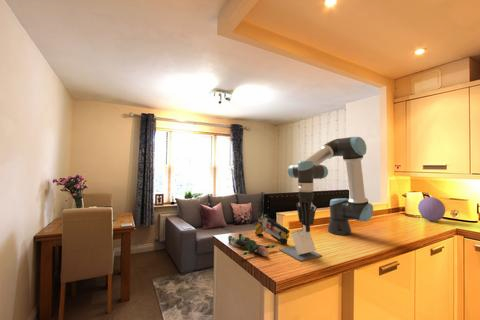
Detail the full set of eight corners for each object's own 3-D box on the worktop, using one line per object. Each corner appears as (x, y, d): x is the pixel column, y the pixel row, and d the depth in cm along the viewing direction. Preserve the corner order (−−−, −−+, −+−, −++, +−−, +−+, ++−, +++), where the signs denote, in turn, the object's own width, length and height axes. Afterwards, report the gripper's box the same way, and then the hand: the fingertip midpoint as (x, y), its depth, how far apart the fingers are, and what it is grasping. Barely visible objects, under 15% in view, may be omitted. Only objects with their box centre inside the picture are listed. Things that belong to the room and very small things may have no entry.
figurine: (215, 246, 131) (245, 267, 106) (216, 235, 131) (246, 254, 106) (251, 238, 145) (285, 255, 120) (251, 228, 145) (285, 243, 120)
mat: (299, 246, 130) (299, 245, 130) (322, 256, 115) (322, 255, 115) (279, 250, 124) (279, 248, 124) (300, 261, 108) (300, 260, 108)
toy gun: (257, 231, 155) (261, 210, 152) (286, 252, 134) (291, 229, 132) (253, 232, 152) (256, 211, 150) (281, 254, 132) (286, 230, 129)
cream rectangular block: (310, 252, 118) (302, 231, 123) (316, 250, 115) (308, 228, 120) (298, 255, 115) (291, 233, 120) (304, 253, 111) (296, 230, 116)
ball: (445, 225, 176) (444, 199, 177) (417, 221, 188) (416, 197, 188) (445, 221, 189) (445, 197, 189) (419, 218, 200) (419, 195, 201)
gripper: (291, 190, 120) (292, 235, 119) (309, 192, 108) (310, 242, 108) (302, 189, 123) (302, 233, 123) (320, 191, 112) (321, 240, 111)
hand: (306, 237), depth 115 cm, fingers closed
